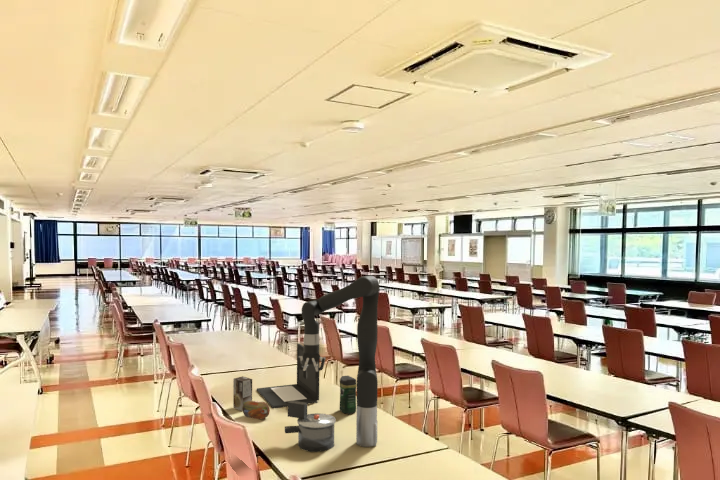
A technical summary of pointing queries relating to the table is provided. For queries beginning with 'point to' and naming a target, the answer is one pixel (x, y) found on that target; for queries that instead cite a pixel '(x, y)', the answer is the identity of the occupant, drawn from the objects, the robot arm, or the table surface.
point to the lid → (309, 416)
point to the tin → (256, 409)
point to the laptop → (294, 387)
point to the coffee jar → (347, 394)
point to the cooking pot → (313, 437)
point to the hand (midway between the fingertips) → (311, 378)
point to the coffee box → (241, 391)
